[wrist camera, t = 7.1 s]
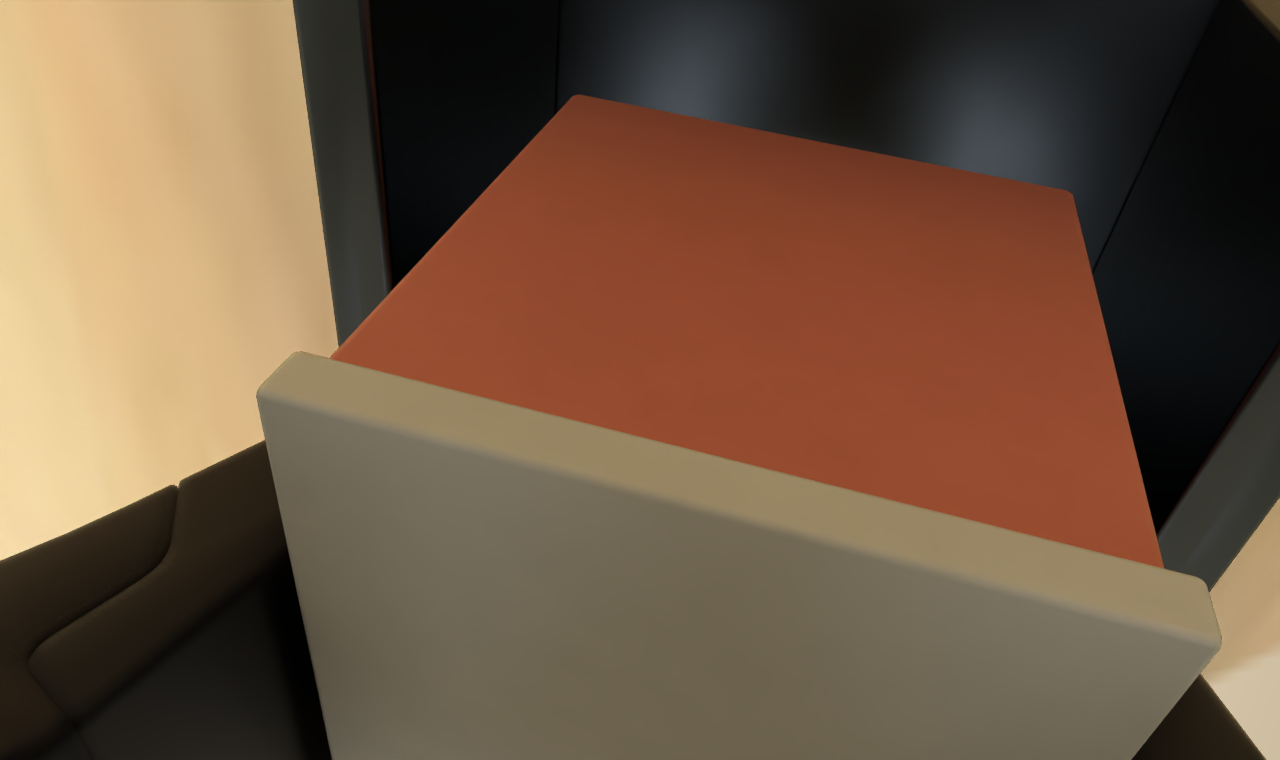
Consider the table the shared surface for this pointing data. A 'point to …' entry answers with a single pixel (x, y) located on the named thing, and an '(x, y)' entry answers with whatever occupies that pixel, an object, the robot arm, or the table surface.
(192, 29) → the table surface
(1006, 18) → the drawer
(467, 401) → the cream-topped orange box
